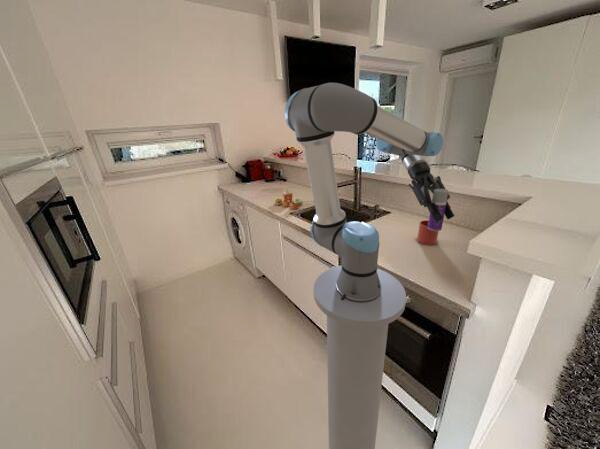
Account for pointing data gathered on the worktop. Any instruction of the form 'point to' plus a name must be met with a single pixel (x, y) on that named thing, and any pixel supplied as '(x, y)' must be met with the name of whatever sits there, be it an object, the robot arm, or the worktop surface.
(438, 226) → the container
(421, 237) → the cup
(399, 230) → the worktop surface
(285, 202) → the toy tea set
